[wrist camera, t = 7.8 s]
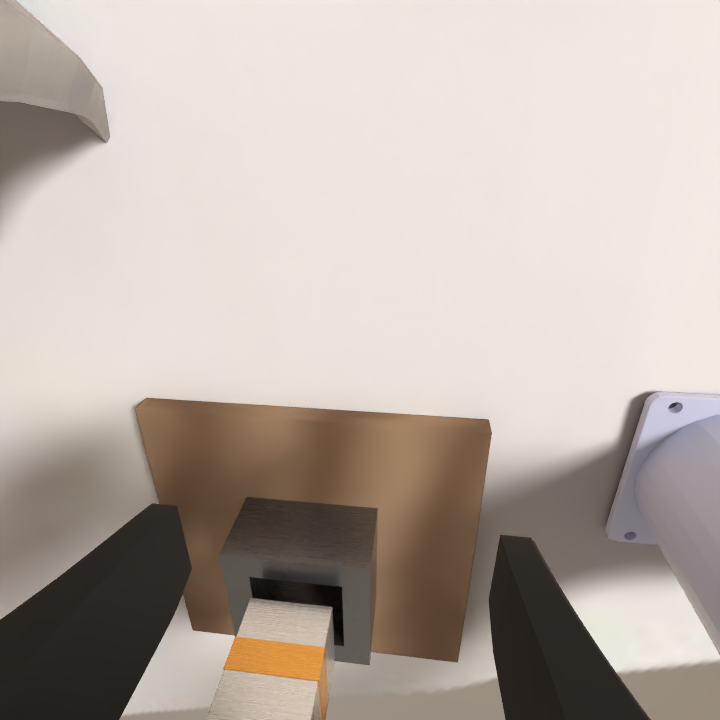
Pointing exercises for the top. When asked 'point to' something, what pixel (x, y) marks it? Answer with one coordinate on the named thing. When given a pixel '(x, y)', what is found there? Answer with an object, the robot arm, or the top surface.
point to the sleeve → (307, 565)
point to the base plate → (331, 500)
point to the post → (278, 664)
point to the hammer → (46, 70)
